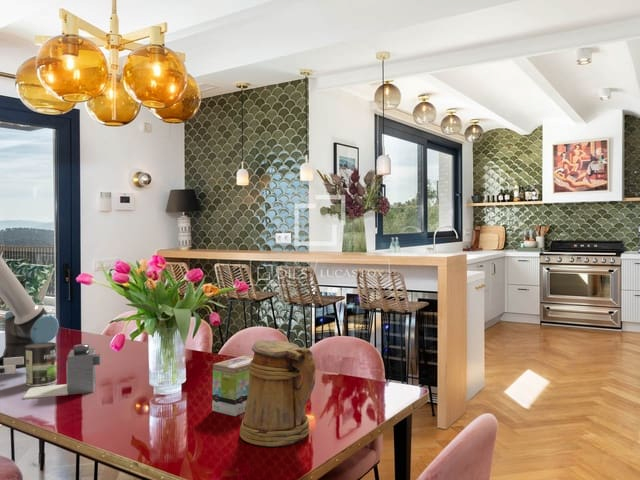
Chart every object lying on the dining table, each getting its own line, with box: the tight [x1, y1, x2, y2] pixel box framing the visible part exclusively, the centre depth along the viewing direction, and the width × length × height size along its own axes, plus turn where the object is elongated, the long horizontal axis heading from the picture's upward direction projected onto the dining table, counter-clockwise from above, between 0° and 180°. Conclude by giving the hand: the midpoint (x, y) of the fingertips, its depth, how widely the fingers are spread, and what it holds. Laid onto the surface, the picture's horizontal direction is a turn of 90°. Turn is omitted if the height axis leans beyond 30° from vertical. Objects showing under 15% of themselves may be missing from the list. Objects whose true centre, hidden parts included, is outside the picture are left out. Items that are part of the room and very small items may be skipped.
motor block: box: [65, 343, 101, 396], centre depth 191 cm, size 12×10×15 cm
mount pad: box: [23, 383, 68, 400], centre depth 187 cm, size 12×14×1 cm
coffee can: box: [25, 341, 58, 387], centre depth 199 cm, size 10×10×14 cm
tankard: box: [239, 339, 317, 448], centre depth 144 cm, size 18×24×25 cm
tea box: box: [211, 355, 254, 417], centre depth 169 cm, size 15×10×15 cm, turn 148°
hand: (19, 364), depth 196 cm, fingers open, 13 cm apart
